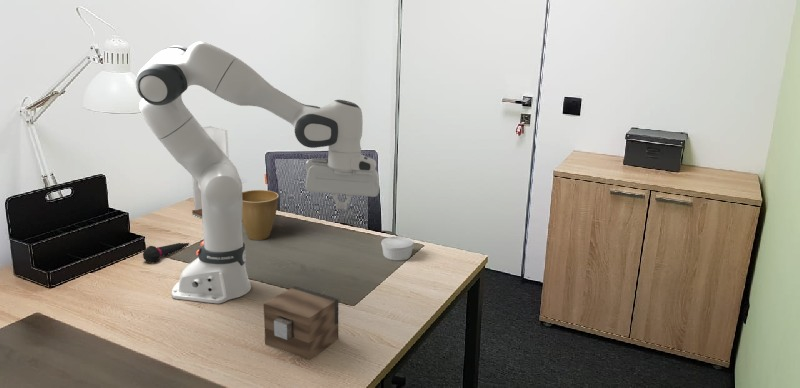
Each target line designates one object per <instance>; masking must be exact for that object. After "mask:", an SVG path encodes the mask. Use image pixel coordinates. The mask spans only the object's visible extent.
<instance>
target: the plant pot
mask: <svg viewBox="0 0 800 388" xmlns="http://www.w3.org/2000/svg"><path fill="white" fill-rule="evenodd" d="M278 202H279V193H277V192H275V191H272V190H266V189H254V190H253V189H252V190H246V191H242V226H243V228H244V230H245V233H246V235H247V237H248V238H249V239H250V240H253V241H262V240H263V241H264V240H267V239H268V238H269V237H270V234H271V232H272V229H273V226H274V223H275V218H276V215H277V210H278Z"/></svg>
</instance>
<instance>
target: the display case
mask: <svg viewBox="0 0 800 388" xmlns="http://www.w3.org/2000/svg"><path fill="white" fill-rule="evenodd" d="M202 128H203V129H204V130H205V131H206V133H207V134H208V135H209V136H210V138H211V139H212V140H213V141H214V142H215V143H216V144H217V146H218V147H219V148H220V149H221V150H222V151H223V152H224V154H225V155H226V156H227V157H228V158H229V156H230V155H229V140H228V139H229V138H228V130H226V129H225V128H224V129H223V128H219V127H214V126H202ZM229 159H230V158H229ZM191 176H192V175H191ZM192 189H193V202H194V203H193V204H194V209H193V210H192V211H191V213H192V216H193V215H195V216H194V217H196V216H197V217H196V218H198V217H200V218H199V219H201V218H202V202H201V188H200V185H199V183H198V182H197V180H196V179H195V178H194V177H193V176H192Z"/></svg>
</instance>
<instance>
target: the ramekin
mask: <svg viewBox="0 0 800 388" xmlns="http://www.w3.org/2000/svg"><path fill="white" fill-rule="evenodd" d="M380 243H381V244H380V245H381V247H382V255H383V256H384V257H385V259H387V260H390V261H397V262H399V261H401V262H402V261H406V260H408V259H410V258H411V255H412V252H413V249H414V246H415V245H414V244H415V243H414V240H412V239H411V238H408V237H403V236H389V237H385V238H383V239H382V240H381V242H380Z"/></svg>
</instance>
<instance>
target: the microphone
mask: <svg viewBox="0 0 800 388" xmlns="http://www.w3.org/2000/svg"><path fill="white" fill-rule="evenodd" d="M188 244H189V245H190V242H178V243H177V242H176V243H173V244H168V245H162V246H159V247H158V246H154V245H149V246H148V247H146V248H145V249H144V250H143V252H142V258H143V259H144V261H145V262H147V263H152V262H155V263H157V262H158V261H159V259H160V258H162V257H167V255H168V256H169V254H170V255H171V254H173V253H175V251H176V252H178V251H180V250H182V248H183V247H184V246H185V247H187V246H189V245H188ZM186 245H187V246H186ZM185 247H184V248H185ZM184 248H183V249H184ZM177 250H178V251H177ZM172 252H173V253H172Z"/></svg>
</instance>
